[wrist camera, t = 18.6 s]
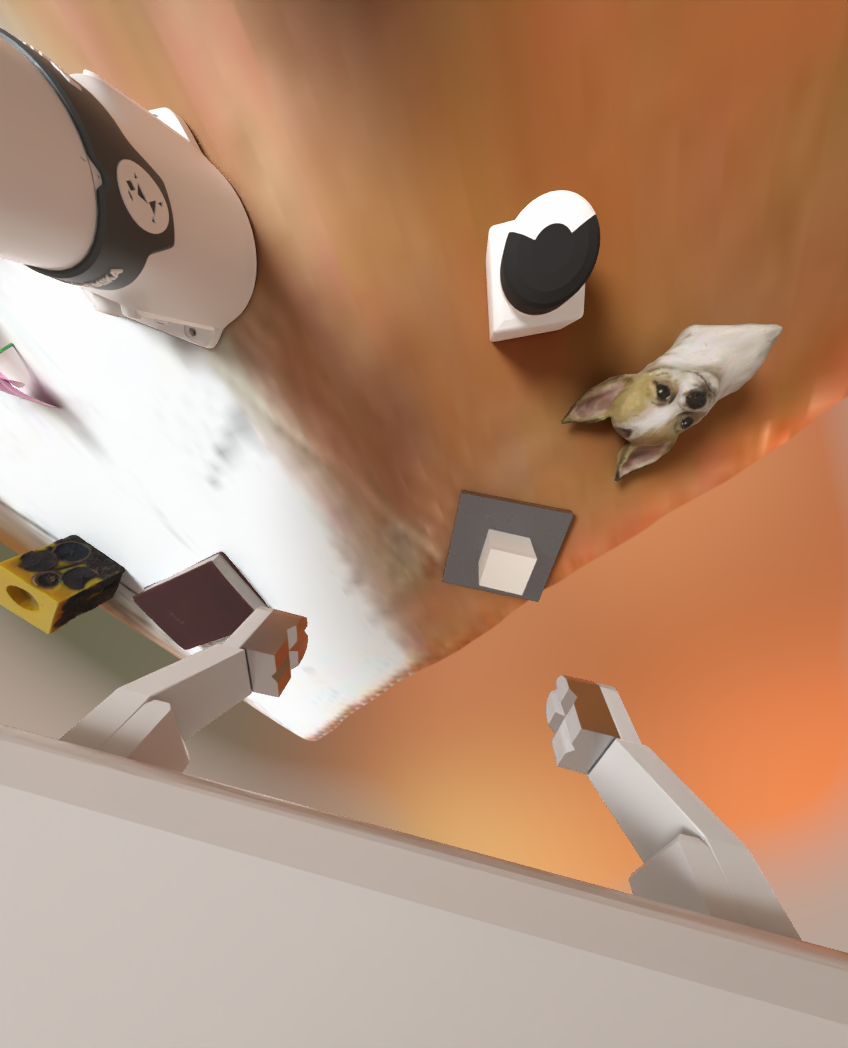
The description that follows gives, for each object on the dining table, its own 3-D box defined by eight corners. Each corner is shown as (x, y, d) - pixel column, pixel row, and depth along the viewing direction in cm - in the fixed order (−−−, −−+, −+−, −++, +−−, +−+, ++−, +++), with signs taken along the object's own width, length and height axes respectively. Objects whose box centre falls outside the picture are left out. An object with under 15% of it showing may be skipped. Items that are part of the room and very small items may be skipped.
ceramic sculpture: (838, 380, 23) (639, 506, 30) (752, 376, 30) (609, 477, 37) (763, 263, 21) (568, 427, 28) (690, 289, 28) (552, 413, 35)
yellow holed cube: (113, 597, 60) (50, 636, 51) (64, 565, 58) (-12, 600, 49) (127, 568, 55) (60, 604, 46) (74, 532, 53) (-6, 563, 45)
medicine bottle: (561, 329, 31) (608, 304, 20) (489, 342, 32) (497, 325, 22) (564, 239, 28) (621, 153, 17) (485, 257, 29) (492, 189, 19)
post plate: (443, 576, 46) (440, 596, 42) (461, 489, 40) (460, 502, 36) (536, 596, 45) (542, 618, 41) (571, 510, 39) (582, 526, 35)
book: (276, 611, 55) (264, 626, 52) (197, 639, 62) (182, 653, 59) (225, 548, 51) (208, 560, 47) (146, 585, 57) (126, 598, 54)
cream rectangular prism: (488, 528, 40) (490, 548, 35) (529, 538, 40) (537, 559, 35) (478, 562, 43) (478, 585, 38) (516, 571, 42) (522, 595, 38)
